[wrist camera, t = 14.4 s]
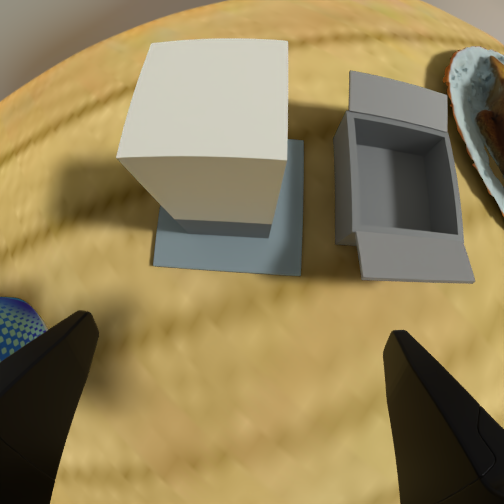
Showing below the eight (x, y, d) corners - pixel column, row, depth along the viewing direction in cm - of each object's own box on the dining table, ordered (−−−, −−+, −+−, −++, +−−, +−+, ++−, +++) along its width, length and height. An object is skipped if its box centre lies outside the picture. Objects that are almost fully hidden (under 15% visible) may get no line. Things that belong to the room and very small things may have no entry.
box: (268, 238, 21) (287, 160, 9) (188, 234, 21) (116, 157, 9) (272, 164, 21) (288, 40, 10) (197, 161, 22) (151, 43, 10)
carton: (434, 287, 20) (477, 283, 15) (333, 284, 21) (359, 279, 15) (420, 127, 23) (448, 94, 17) (331, 110, 23) (347, 68, 17)
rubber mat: (299, 276, 21) (300, 275, 20) (154, 266, 21) (153, 265, 20) (302, 142, 22) (303, 140, 22) (173, 137, 22) (172, 135, 22)
